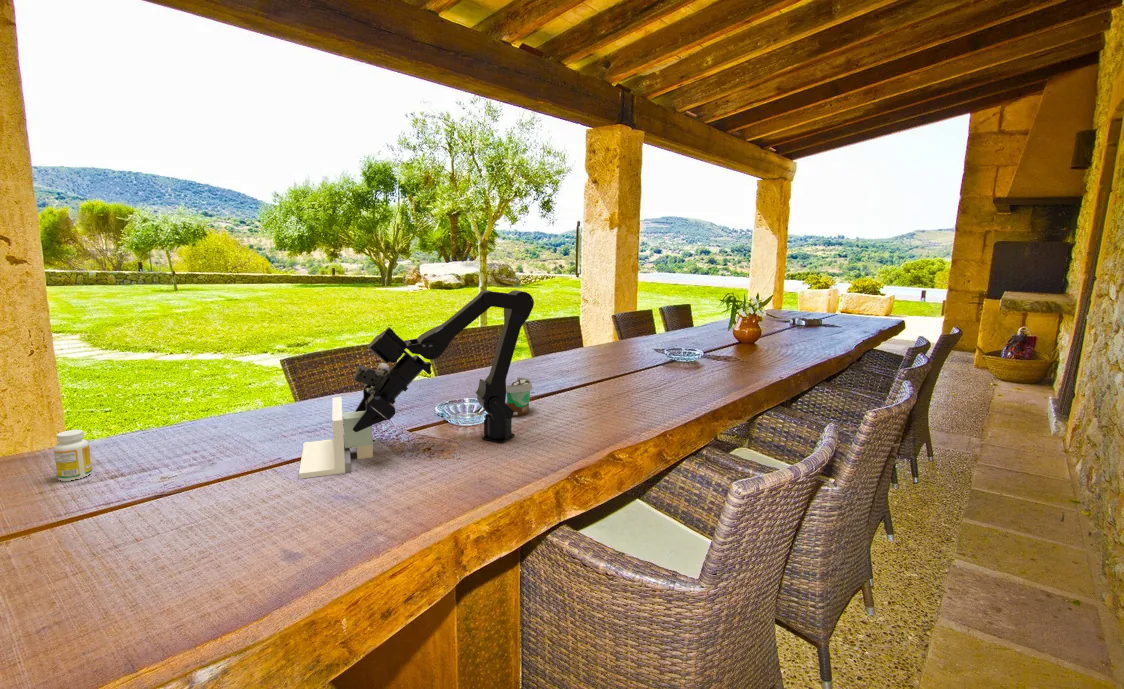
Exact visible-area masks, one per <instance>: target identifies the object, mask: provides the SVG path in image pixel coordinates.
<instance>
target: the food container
mask: <svg viewBox="0 0 1124 689" xmlns="http://www.w3.org/2000/svg"><path fill="white" fill-rule="evenodd" d="M531 390H533V384H532V381H531V379H529V378H527V377H520V376H517V380H516V381H514V382H512V383H511V384H509V385H507V384H506V405H508V406H509V407H510V408H511V409H512V410H513V411H514V413H513V416H512V418H521V417H525V416H527V415H528V414H529V408H530V397H531V395H530V394H531Z"/></svg>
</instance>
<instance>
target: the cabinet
mask: <svg viewBox="0 0 1124 689" xmlns="http://www.w3.org/2000/svg"><path fill="white" fill-rule="evenodd" d="M364 412H365V411H358V412H355V411H350V412H349V411H348V412H342V417H343V434H344V437H345V448H350V449H351V448H355V450H356V451H355V452H356V459H357V460H361V459H367V458H368V459H369V458H374V447H373V446H374V445H373V444H374V443H373V425H372V426H370V427H367V428H365V429H363V430H361V431H358V432H355V431H353V428H354V426H355V425H356V423H357V422H358V420H359V419H360V418H361V416H362V415H363V413H364Z"/></svg>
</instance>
